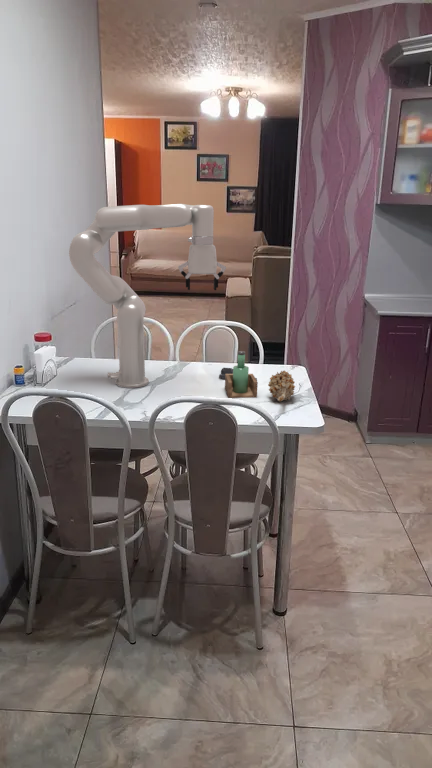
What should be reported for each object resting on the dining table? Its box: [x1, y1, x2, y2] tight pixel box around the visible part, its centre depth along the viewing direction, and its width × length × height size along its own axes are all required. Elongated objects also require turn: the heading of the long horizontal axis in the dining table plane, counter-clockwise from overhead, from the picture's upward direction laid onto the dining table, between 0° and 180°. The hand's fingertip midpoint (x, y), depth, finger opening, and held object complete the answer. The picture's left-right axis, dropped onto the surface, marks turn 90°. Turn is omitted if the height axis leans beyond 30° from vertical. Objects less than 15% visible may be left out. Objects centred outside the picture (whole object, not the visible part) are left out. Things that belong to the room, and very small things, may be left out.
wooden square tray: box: [224, 373, 258, 399], centre depth 202 cm, size 10×10×6 cm
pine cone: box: [267, 370, 296, 403], centre depth 193 cm, size 22×10×10 cm, turn 178°
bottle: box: [232, 350, 250, 393], centre depth 201 cm, size 6×6×15 cm
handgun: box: [218, 367, 258, 381], centre depth 223 cm, size 2×16×12 cm
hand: (201, 289), depth 201 cm, fingers open, 9 cm apart
